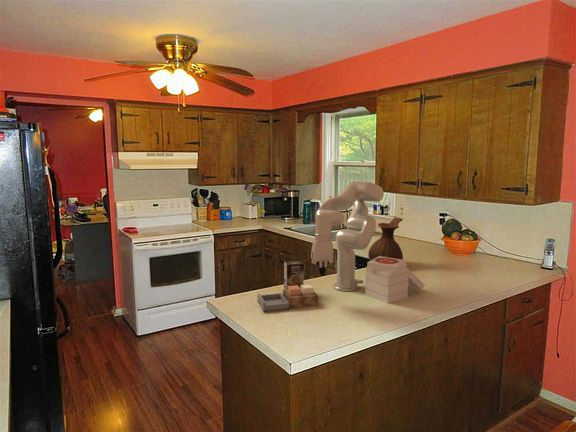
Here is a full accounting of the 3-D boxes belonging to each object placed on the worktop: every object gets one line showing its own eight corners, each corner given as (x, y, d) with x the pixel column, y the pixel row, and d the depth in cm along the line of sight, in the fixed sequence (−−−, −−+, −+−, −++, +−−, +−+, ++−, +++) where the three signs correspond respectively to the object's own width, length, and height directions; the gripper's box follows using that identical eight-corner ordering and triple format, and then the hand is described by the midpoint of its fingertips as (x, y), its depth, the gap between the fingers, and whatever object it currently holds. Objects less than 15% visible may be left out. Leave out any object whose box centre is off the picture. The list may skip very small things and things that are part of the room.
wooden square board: (309, 296, 206) (309, 287, 205) (317, 305, 195) (317, 295, 194) (282, 299, 202) (282, 289, 201) (289, 308, 191) (289, 298, 190)
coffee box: (286, 295, 208) (286, 264, 205) (283, 291, 214) (283, 261, 211) (303, 293, 210) (304, 263, 207) (300, 289, 216) (300, 260, 214)
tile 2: (310, 289, 202) (310, 284, 201) (313, 293, 197) (313, 287, 196) (300, 290, 200) (300, 285, 200) (303, 294, 195) (303, 288, 195)
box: (281, 298, 203) (281, 291, 202) (289, 309, 190) (289, 301, 189) (257, 301, 200) (257, 293, 199) (263, 312, 187) (263, 303, 186)
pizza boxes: (427, 293, 212) (429, 259, 209) (387, 305, 195) (388, 268, 192) (398, 283, 227) (399, 251, 224) (358, 293, 210) (359, 259, 207)
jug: (407, 271, 250) (409, 222, 245) (371, 270, 250) (373, 222, 245) (398, 261, 271) (400, 216, 266) (365, 261, 272) (367, 216, 267)
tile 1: (297, 290, 200) (297, 285, 199) (300, 294, 195) (300, 288, 195) (287, 291, 198) (287, 286, 198) (290, 295, 194) (290, 289, 193)
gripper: (334, 235, 202) (333, 271, 204) (305, 236, 198) (304, 273, 200) (340, 238, 195) (339, 276, 197) (310, 239, 191) (309, 278, 193)
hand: (321, 274), depth 199 cm, fingers closed
